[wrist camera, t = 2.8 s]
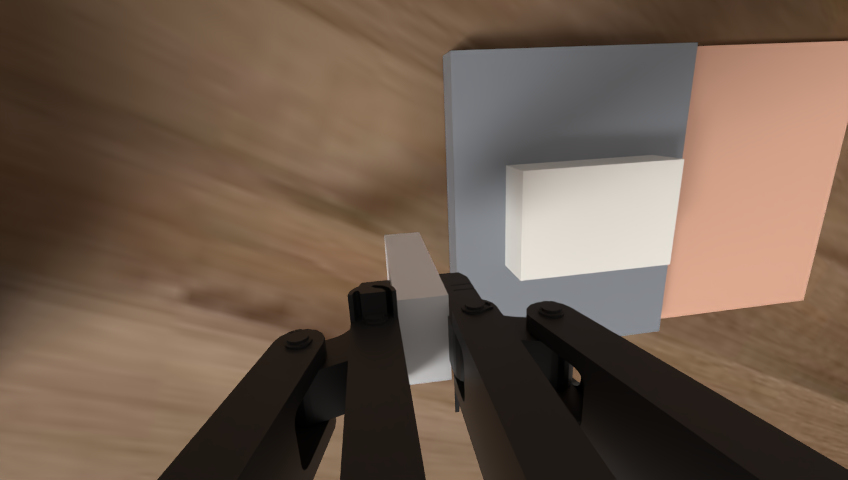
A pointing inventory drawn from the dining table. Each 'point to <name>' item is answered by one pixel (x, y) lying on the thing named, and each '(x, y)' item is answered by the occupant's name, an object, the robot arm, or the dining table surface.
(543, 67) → the grey slab
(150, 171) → the dining table surface
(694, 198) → the mat
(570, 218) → the tile
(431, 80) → the dining table surface
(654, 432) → the robot arm
